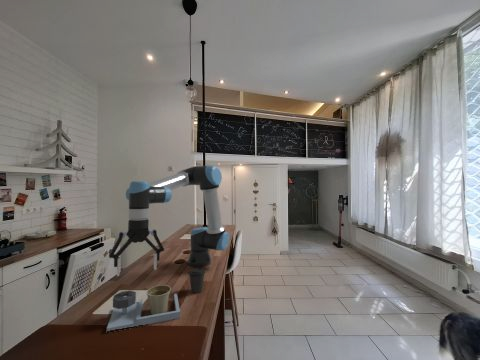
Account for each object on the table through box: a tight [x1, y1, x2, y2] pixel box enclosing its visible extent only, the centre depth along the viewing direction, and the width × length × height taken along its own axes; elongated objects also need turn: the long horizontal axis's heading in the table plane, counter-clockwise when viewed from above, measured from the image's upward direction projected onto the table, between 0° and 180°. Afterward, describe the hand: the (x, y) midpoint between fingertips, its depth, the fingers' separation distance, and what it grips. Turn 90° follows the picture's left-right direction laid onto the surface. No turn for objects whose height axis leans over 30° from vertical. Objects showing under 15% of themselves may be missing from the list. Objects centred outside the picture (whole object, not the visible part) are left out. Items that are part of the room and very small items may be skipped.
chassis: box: [106, 293, 181, 332], centre depth 89 cm, size 25×16×8 cm, turn 110°
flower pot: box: [146, 284, 172, 315], centre depth 91 cm, size 9×9×9 cm
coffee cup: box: [188, 268, 206, 294], centre depth 109 cm, size 8×8×10 cm
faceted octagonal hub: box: [112, 290, 137, 309], centre depth 87 cm, size 8×8×3 cm
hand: (137, 271), depth 90 cm, fingers open, 13 cm apart
